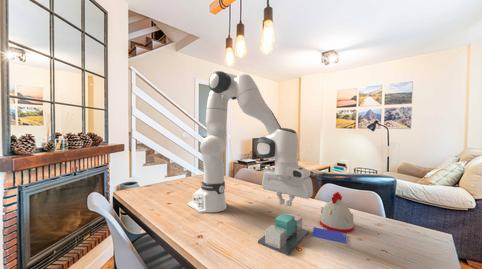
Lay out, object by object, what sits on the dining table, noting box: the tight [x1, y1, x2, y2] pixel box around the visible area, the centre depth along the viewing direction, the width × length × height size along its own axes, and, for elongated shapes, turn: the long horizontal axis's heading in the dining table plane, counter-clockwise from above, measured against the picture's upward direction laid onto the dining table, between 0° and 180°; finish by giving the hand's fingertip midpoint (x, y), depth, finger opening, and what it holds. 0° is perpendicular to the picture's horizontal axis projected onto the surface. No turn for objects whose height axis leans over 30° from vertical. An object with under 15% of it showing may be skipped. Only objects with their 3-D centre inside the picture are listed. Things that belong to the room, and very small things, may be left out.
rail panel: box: [257, 213, 310, 256], centre depth 81 cm, size 12×20×6 cm, turn 142°
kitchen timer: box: [319, 191, 355, 234], centre depth 93 cm, size 14×14×15 cm
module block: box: [274, 212, 295, 238], centre depth 81 cm, size 5×7×6 cm
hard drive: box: [311, 226, 348, 246], centre depth 83 cm, size 2×8×12 cm
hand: (285, 204), depth 81 cm, fingers closed
